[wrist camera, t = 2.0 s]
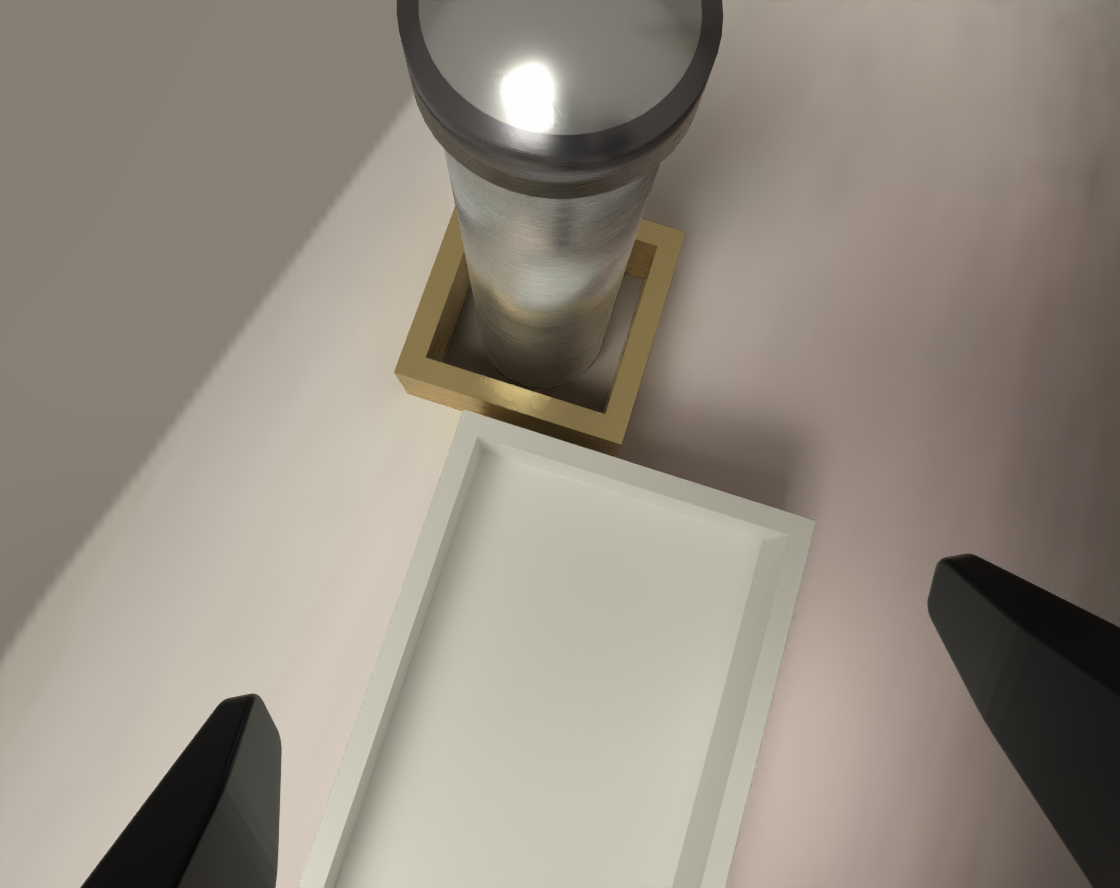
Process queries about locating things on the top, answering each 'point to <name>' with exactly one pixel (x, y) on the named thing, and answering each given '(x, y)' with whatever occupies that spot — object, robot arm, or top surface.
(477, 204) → the strut
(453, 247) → the socket collar
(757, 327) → the top surface
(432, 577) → the tray
